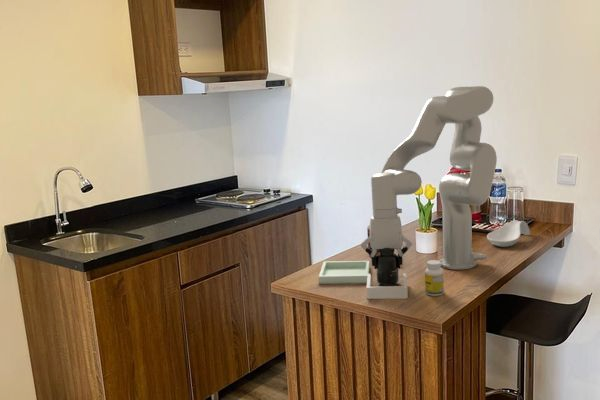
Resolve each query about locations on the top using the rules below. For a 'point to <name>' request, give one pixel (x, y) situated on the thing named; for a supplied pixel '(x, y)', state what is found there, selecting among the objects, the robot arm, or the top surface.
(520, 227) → the spoon rest
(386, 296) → the bay
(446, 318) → the top surface
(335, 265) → the tray
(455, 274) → the top surface
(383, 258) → the supplement bottle
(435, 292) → the supplement bottle
